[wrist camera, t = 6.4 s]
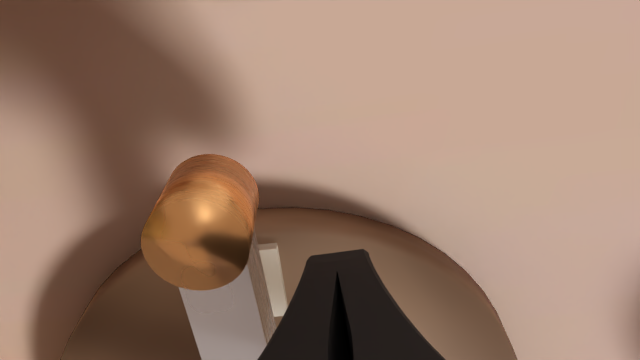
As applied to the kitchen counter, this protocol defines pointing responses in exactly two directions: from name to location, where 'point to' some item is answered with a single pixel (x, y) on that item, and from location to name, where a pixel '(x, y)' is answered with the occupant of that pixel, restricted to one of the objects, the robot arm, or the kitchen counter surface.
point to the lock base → (282, 280)
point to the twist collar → (213, 255)
